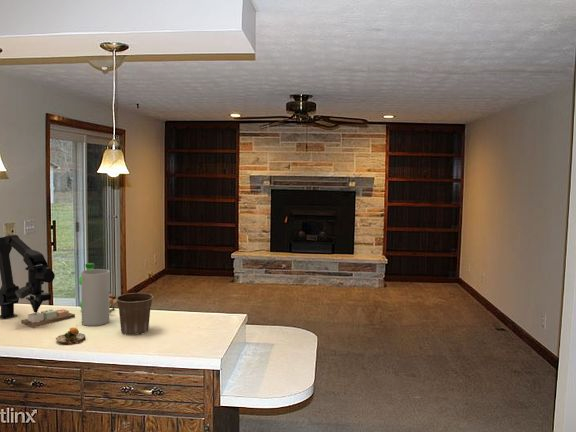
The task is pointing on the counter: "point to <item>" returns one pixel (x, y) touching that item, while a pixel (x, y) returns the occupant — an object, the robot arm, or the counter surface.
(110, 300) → the lion figurine
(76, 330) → the mossy decorative centerpiece
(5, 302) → the robot arm
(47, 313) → the tile two pips
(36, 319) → the tile one pip
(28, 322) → the walnut board
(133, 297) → the plant pot
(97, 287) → the cylinder vase
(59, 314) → the tile three pips
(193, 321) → the counter surface
